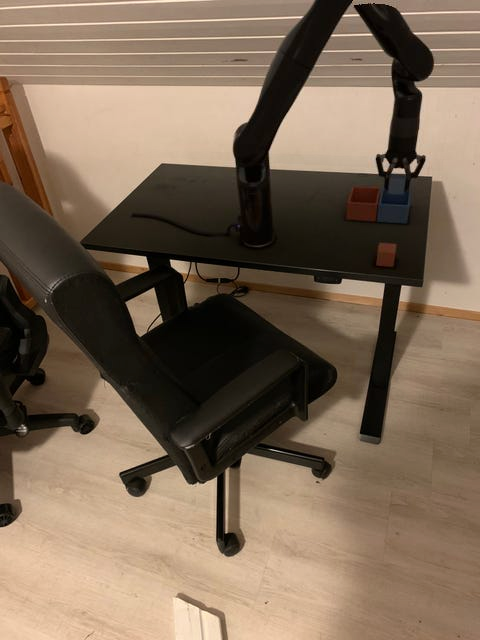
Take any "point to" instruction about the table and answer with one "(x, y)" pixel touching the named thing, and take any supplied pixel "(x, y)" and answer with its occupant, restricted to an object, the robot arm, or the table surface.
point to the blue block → (396, 183)
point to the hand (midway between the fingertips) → (396, 189)
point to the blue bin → (393, 207)
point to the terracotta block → (386, 254)
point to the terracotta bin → (363, 203)
